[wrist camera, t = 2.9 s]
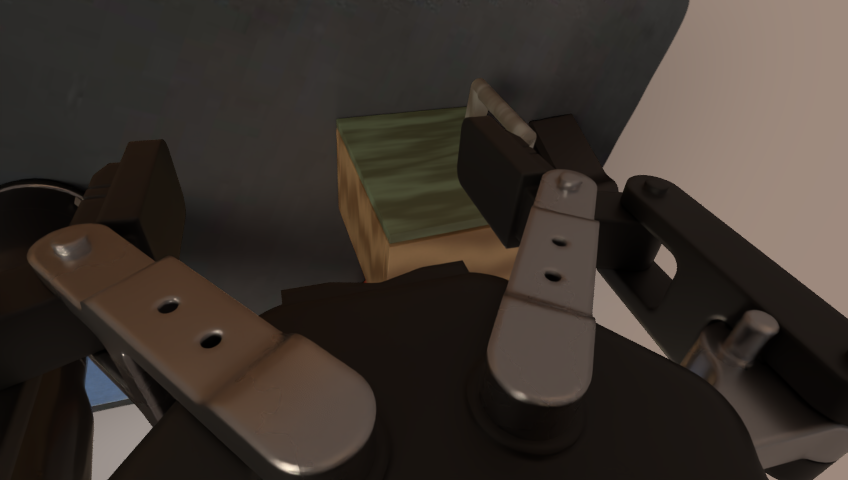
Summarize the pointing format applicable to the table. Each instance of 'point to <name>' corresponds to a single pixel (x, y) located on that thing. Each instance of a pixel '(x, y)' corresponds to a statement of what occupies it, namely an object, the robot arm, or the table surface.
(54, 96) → the table surface
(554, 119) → the phone stand
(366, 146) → the door
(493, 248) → the cupboard
